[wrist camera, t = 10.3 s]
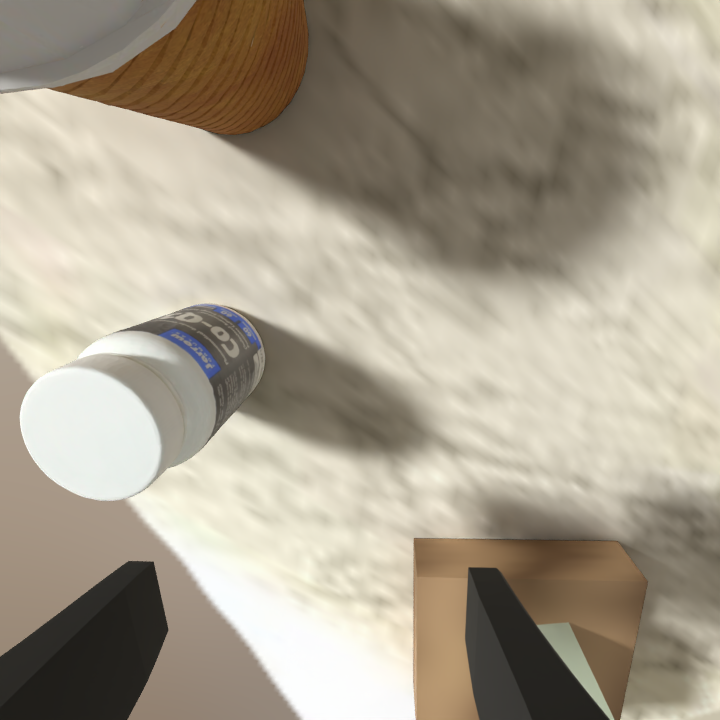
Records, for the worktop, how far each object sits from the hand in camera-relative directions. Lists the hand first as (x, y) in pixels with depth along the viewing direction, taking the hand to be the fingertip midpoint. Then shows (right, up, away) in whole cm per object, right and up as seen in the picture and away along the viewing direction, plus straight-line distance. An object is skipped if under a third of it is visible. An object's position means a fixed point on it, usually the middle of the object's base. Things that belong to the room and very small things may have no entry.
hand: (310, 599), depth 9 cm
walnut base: (+9, -8, +13) cm, 18 cm away
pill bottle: (-5, +6, +10) cm, 13 cm away
